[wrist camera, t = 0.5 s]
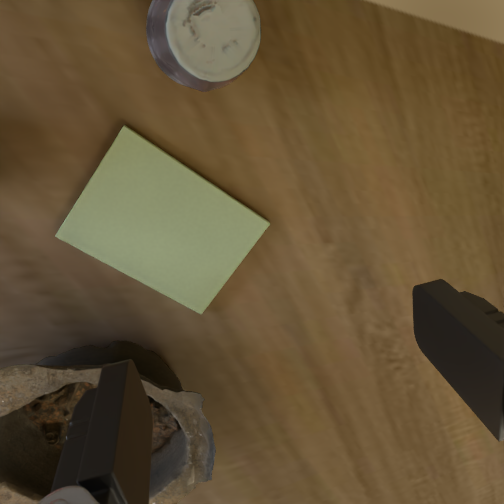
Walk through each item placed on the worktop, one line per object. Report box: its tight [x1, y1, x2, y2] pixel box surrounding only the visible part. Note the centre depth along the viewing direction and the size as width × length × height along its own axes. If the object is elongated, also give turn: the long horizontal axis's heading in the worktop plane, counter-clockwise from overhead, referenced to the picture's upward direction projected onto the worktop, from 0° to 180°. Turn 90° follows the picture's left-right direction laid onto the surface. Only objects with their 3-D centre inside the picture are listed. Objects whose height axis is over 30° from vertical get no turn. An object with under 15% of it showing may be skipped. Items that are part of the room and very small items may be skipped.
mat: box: [55, 125, 270, 314], centre depth 41 cm, size 16×12×1 cm
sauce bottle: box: [146, 0, 261, 92], centre depth 27 cm, size 7×6×20 cm
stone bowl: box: [0, 341, 216, 504], centre depth 45 cm, size 25×25×9 cm
